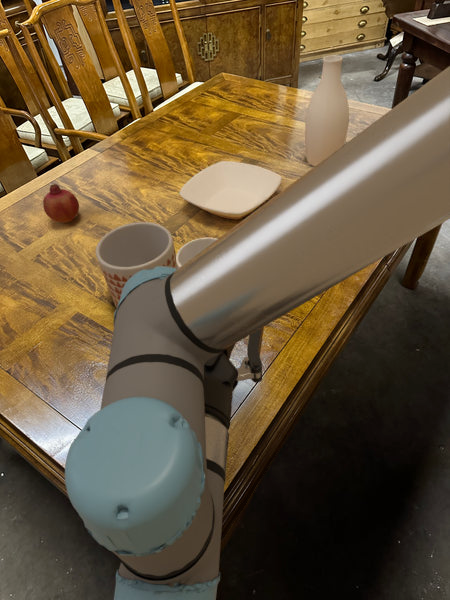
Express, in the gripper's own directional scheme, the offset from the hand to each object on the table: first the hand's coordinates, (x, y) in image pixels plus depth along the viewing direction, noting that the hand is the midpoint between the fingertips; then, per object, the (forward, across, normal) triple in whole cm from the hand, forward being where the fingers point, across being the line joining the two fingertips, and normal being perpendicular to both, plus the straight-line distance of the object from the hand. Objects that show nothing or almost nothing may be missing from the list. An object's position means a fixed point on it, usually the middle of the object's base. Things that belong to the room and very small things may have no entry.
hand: (214, 269), depth 56 cm
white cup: (-5, 0, -8) cm, 10 cm away
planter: (+15, -17, -20) cm, 30 cm away
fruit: (+41, -43, -20) cm, 63 cm away
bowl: (+47, -2, -20) cm, 51 cm away
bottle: (+68, +22, -20) cm, 74 cm away
